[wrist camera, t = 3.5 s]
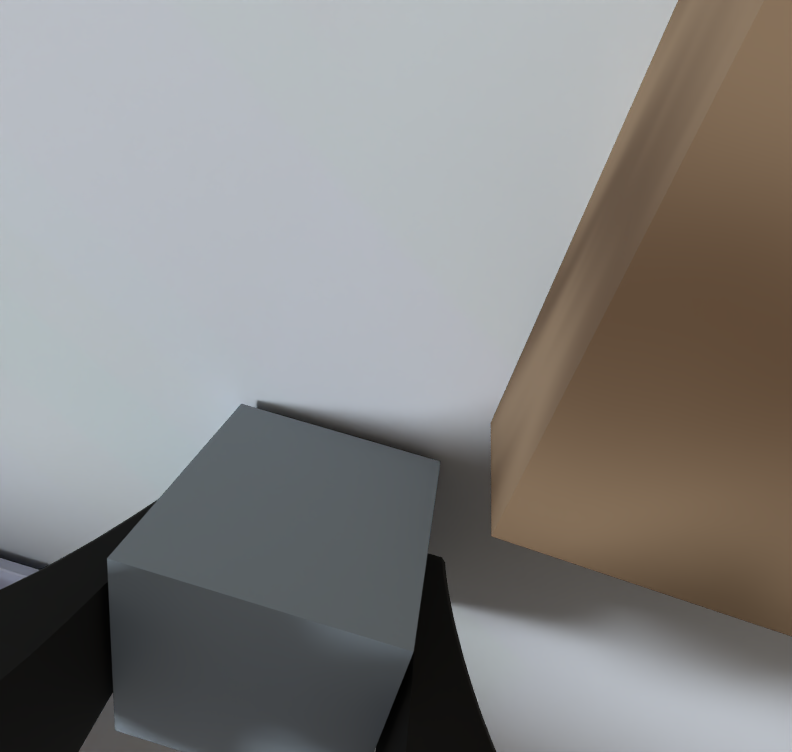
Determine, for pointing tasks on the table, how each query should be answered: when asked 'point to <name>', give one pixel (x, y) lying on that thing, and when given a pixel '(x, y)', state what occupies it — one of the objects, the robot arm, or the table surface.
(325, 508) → the slate cube
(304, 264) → the table surface
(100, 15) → the table surface
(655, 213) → the walnut block
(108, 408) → the table surface
